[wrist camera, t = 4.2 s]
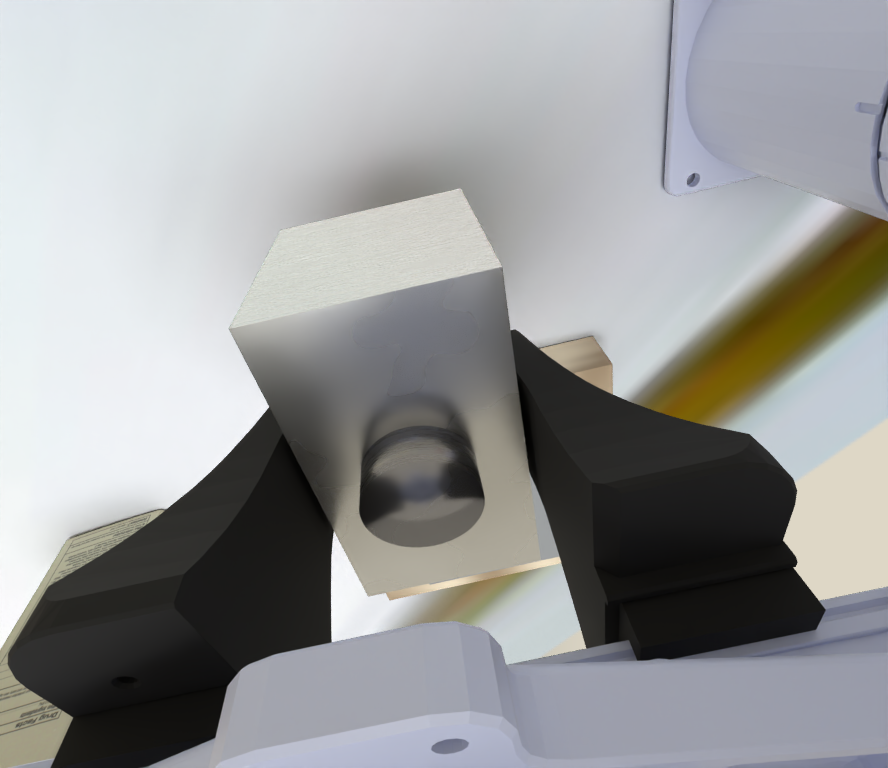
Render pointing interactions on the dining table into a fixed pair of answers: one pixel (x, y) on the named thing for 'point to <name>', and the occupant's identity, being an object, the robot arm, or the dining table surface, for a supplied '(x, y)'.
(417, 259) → the housing
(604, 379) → the stand
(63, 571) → the skincare box
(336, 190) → the dining table surface
